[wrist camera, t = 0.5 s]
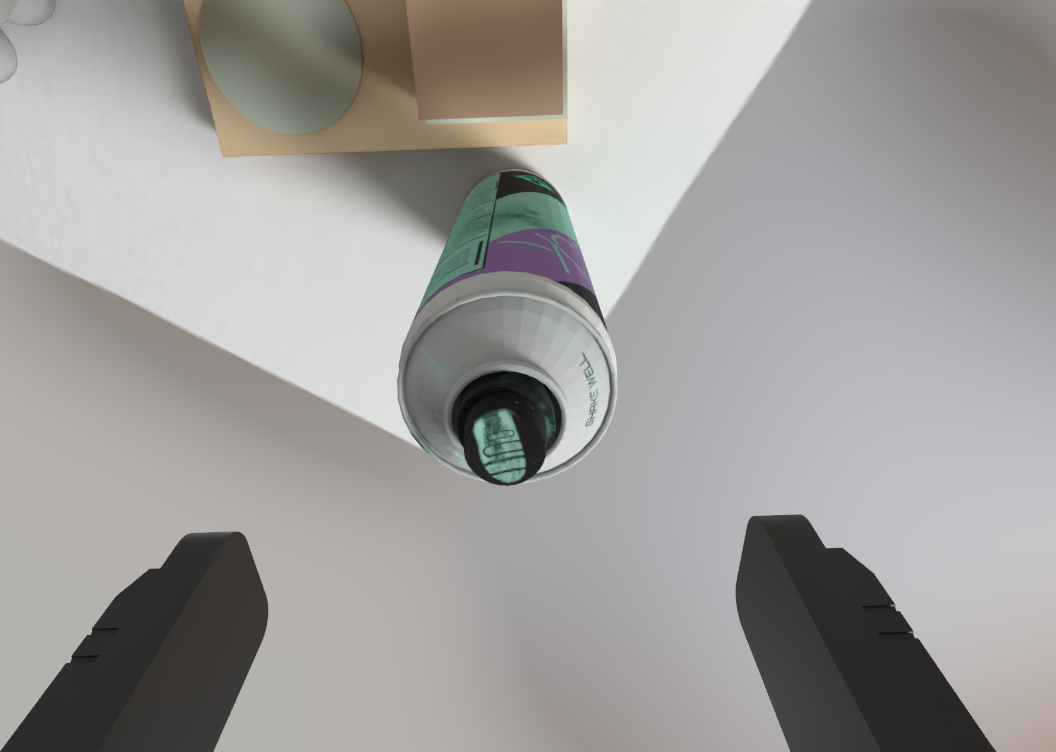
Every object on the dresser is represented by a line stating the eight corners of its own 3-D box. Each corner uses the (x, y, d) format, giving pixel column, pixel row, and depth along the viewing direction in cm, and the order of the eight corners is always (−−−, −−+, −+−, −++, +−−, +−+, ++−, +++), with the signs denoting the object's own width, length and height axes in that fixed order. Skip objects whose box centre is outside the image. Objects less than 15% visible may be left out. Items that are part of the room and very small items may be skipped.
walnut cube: (423, -32, 23) (399, -57, 18) (553, -37, 23) (561, -64, 18) (436, 111, 25) (418, 120, 20) (555, 106, 25) (562, 114, 20)
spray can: (515, 298, 32) (509, 592, 14) (437, 226, 30) (314, 456, 12) (591, 224, 30) (696, 452, 12) (513, 143, 28) (500, 269, 10)
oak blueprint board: (197, -57, 24) (163, -71, 22) (562, -72, 24) (566, -87, 22) (246, 150, 28) (221, 157, 26) (563, 138, 28) (567, 144, 26)
